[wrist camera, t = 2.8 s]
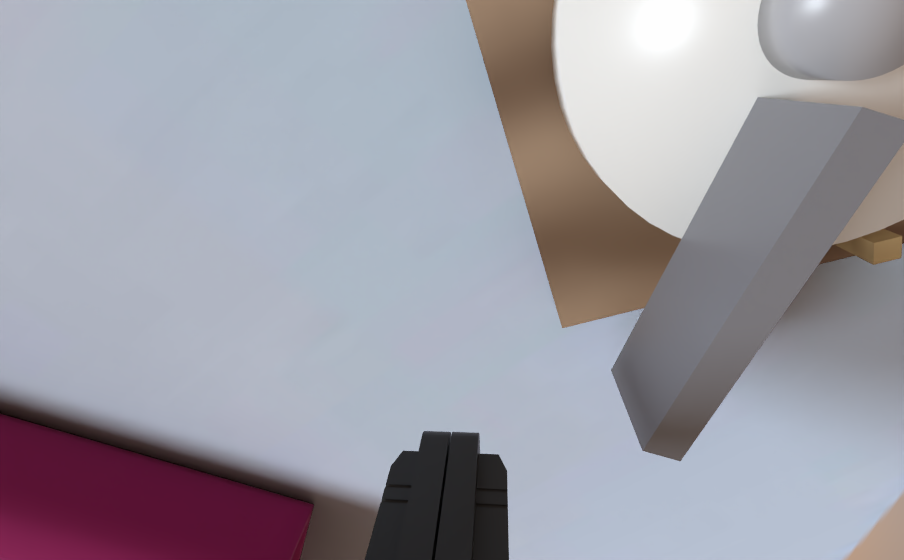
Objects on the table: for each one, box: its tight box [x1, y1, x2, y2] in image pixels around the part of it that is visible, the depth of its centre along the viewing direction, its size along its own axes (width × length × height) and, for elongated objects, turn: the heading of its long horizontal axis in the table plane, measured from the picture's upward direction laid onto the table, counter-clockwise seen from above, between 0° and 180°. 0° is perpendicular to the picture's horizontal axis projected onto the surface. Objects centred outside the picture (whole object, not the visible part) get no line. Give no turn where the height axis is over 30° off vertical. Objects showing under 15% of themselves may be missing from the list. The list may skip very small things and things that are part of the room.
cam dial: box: [551, 0, 904, 461], centre depth 12 cm, size 20×14×6 cm
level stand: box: [466, 0, 904, 328], centre depth 14 cm, size 18×18×3 cm
